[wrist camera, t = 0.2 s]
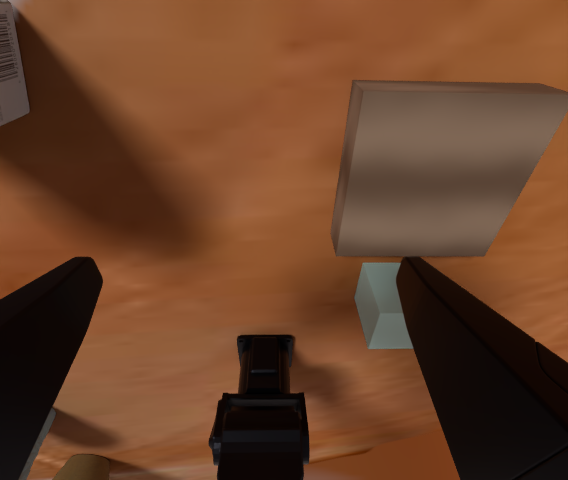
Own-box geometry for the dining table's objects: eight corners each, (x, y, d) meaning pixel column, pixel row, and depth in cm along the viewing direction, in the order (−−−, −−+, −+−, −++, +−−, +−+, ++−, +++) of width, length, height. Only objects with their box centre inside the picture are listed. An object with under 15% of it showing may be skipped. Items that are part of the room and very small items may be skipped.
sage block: (401, 297, 32) (423, 348, 27) (354, 297, 32) (368, 349, 27) (414, 262, 29) (442, 313, 24) (362, 262, 29) (380, 313, 24)
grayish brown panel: (465, 233, 27) (484, 256, 24) (330, 233, 26) (335, 256, 24) (539, 83, 19) (576, 94, 17) (352, 80, 19) (363, 91, 16)
